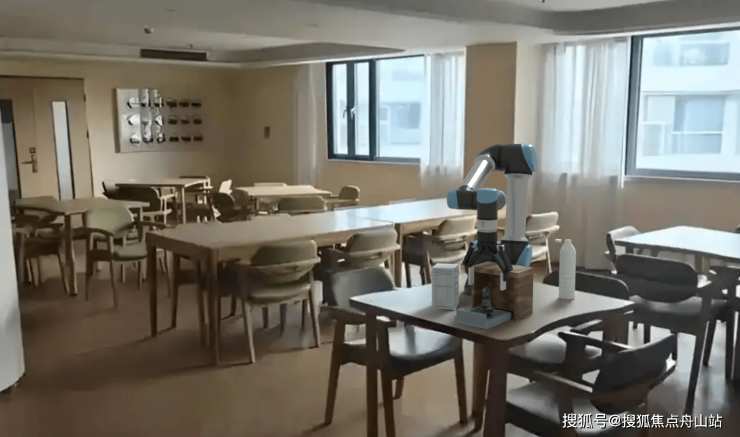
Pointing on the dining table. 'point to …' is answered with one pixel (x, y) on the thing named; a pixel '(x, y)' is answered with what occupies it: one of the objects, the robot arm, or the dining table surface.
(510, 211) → the robot arm
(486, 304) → the dark grey figurine
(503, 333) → the dining table surface
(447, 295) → the supplement box
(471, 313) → the tray
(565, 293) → the water bottle
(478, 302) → the wooden crate
